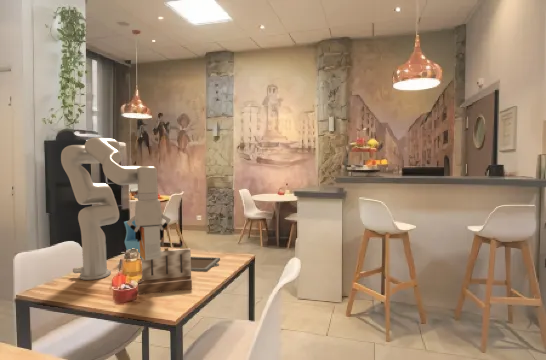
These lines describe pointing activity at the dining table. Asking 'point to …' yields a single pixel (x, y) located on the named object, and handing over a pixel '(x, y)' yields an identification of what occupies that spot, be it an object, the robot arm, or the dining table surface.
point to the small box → (150, 242)
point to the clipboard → (203, 263)
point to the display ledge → (167, 272)
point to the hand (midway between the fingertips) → (149, 240)
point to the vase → (131, 238)
